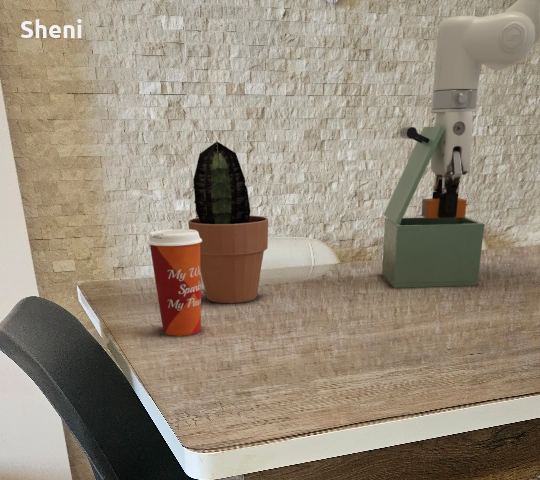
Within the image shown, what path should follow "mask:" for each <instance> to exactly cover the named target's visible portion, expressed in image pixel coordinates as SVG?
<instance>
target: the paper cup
mask: <svg viewBox="0 0 540 480" xmlns="http://www.w3.org/2000/svg"><path fill="white" fill-rule="evenodd" d="M200 242H202V239H201V238H200V237H199V233H198V231H197V230H191V229H189V228H169V229H159V230H154V231H150V233H149V239H148V240H147V242H146V243H147V245H149V248H150V255H151V261H152V267H153V274H154V275H153V276H154V281H155V287H156V293H157V300H158V306H159V313H160V319H161V325H162V329H163V333H164V334H165V335H169V336H176V337H177V336H179V337H181V336H191V335H195V334H198V333H199V332H200V331H201V329H202V287H201V286H202V285H201V284H202V283H201V282H202V281H201V280H202V276H201V272H200Z"/></svg>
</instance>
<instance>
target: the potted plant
mask: <svg viewBox="0 0 540 480" xmlns="http://www.w3.org/2000/svg"><path fill="white" fill-rule="evenodd" d="M192 182H193V186H192V189H193V193H194V194H193V195H194V204H195V205H194V206H195V213H196V215H197V217H196V218H191V219H189V220H188V222H187V223H188V229H191V230H197V231H198V233H199V237H200V238H201V239H202V242H200V273H201V280H202V284H203V287H204V291H205V294H206V299H207V300H209V301H210V302H213V303H219V304H239V303H240V304H241V303H246V302H251V301H254V300H255V299H256V298H257V297H258V290H259V284H260V279H261V278H260V277H261V271H262V266H263V265H262V264H263V259H264V253H265V251H266V250H267V249H269V247H268V245H269V218H268V217H266V216H259V215H251V212H252V211H251V205H250V198H249V191H248V187H247V185H246V182H247V181H246V178H245V175H244V172H243V169H242V166H241V164H240V161H239V158H238V155H237V153H236V152H235V151H233V150H232V149H230V148H228V147H227V146H225V145H224V144H222V143H220V142H219V141H215V142H214V143H212V144H211V145H210V146H208V147H206V148H205V149H204V150H203V151H201V152H200V153H199V154H198V159H197V163H196V167H195V171H194V175H193V181H192Z"/></svg>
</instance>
